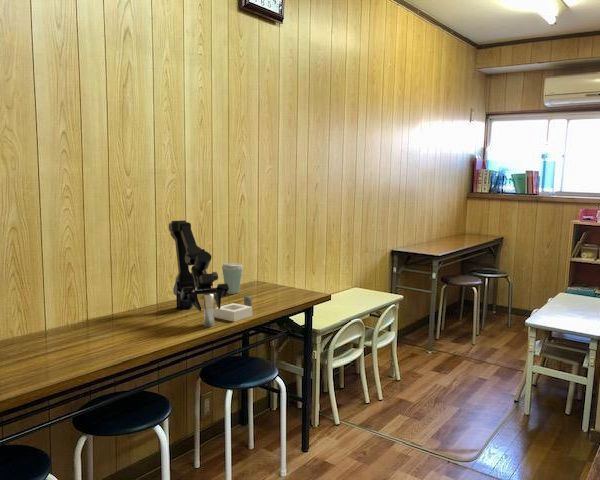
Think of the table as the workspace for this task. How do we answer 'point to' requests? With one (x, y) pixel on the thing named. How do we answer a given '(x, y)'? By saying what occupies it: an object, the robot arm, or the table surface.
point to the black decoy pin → (248, 301)
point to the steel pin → (208, 309)
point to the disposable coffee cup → (232, 276)
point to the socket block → (233, 312)
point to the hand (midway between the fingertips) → (210, 309)
